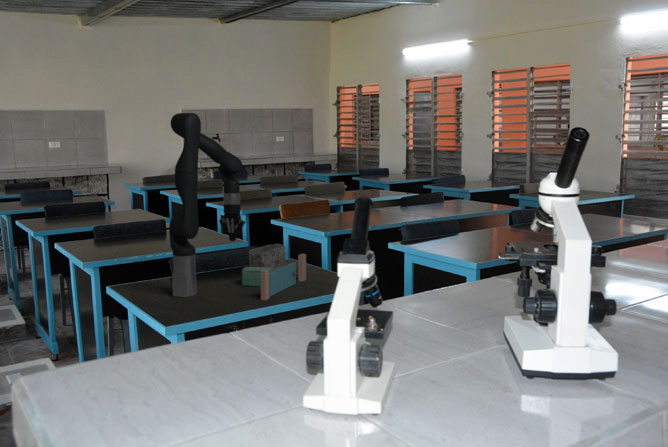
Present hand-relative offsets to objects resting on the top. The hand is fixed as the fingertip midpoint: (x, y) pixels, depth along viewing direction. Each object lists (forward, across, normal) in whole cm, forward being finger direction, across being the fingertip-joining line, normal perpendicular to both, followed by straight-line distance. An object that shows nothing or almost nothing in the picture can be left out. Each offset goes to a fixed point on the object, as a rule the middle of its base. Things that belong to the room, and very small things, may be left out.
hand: (232, 240), depth 288 cm
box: (+19, +13, 0) cm, 23 cm away
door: (+18, +29, -6) cm, 35 cm away
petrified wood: (+19, +8, +18) cm, 27 cm away
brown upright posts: (+19, +28, -3) cm, 34 cm away
